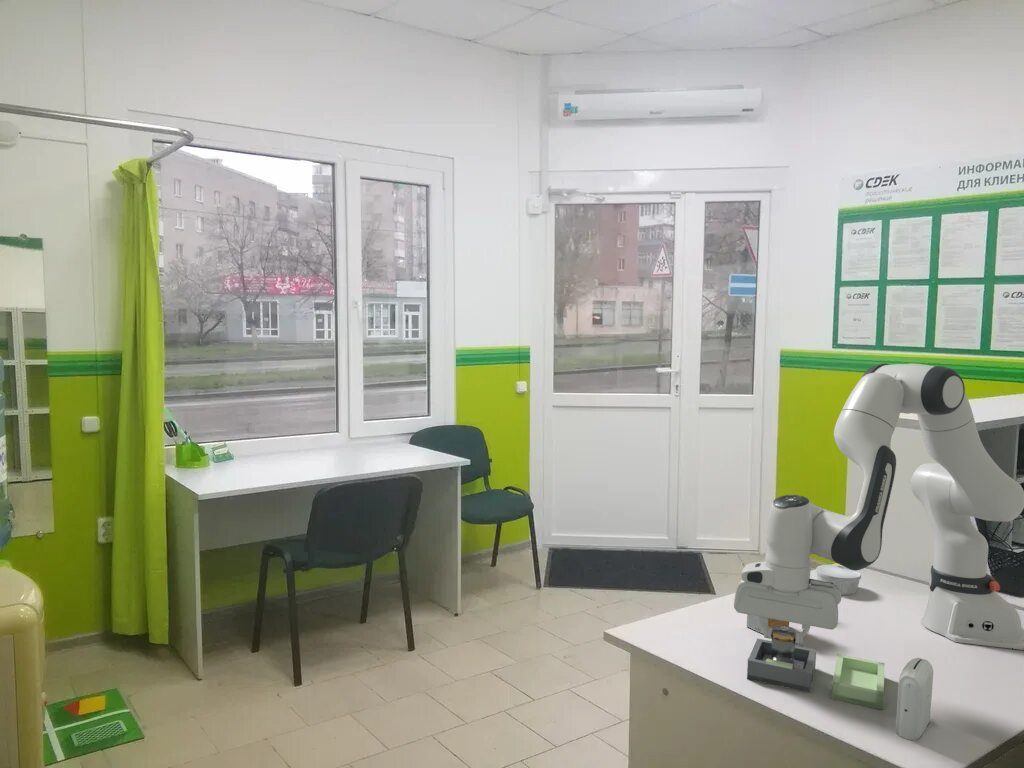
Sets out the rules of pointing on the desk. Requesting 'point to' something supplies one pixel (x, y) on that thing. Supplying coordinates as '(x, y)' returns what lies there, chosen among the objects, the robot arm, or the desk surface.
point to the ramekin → (839, 577)
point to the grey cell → (783, 644)
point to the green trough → (858, 681)
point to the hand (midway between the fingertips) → (783, 640)
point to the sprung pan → (796, 662)
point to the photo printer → (914, 699)
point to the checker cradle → (781, 667)
